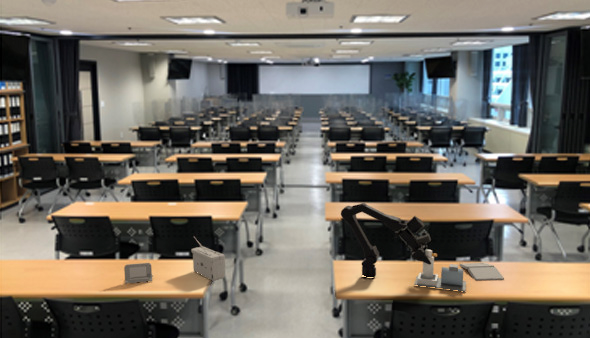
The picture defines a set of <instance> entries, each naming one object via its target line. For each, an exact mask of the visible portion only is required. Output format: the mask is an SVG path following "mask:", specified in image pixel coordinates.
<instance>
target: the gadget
mask: <svg viewBox="0 0 590 338" xmlns="http://www.w3.org/2000/svg"><path fill="white" fill-rule="evenodd" d="M459 267H461V268H462V269H465V270H467V271H468V273H469V274H470V276H471V277H472V279H473V278H474V279H475V281H501V280H503V281H504V280H505V278H504V275H502V274H501V272H500V271H499V270H498V268H497V267H496V266H495V265H493V264H490V263H488V262H470V263H469V262H467V263H465V262H464V263H459ZM474 279H473V280H474Z"/></svg>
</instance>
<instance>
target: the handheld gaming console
mask: <svg viewBox="0 0 590 338" xmlns="http://www.w3.org/2000/svg"><path fill="white" fill-rule="evenodd" d="M123 270H124V281H125V282H124V285H128V284H127V283H132V284H138V283H137V282H144V283H147V282H146V281H152V282H153V279H152V277H153V278H154V275H153V272H152V271H153V270H152V263H150V262H142V263H141V262H140V263H129V264H127V263H126V264H125V265H124V269H123Z"/></svg>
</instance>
